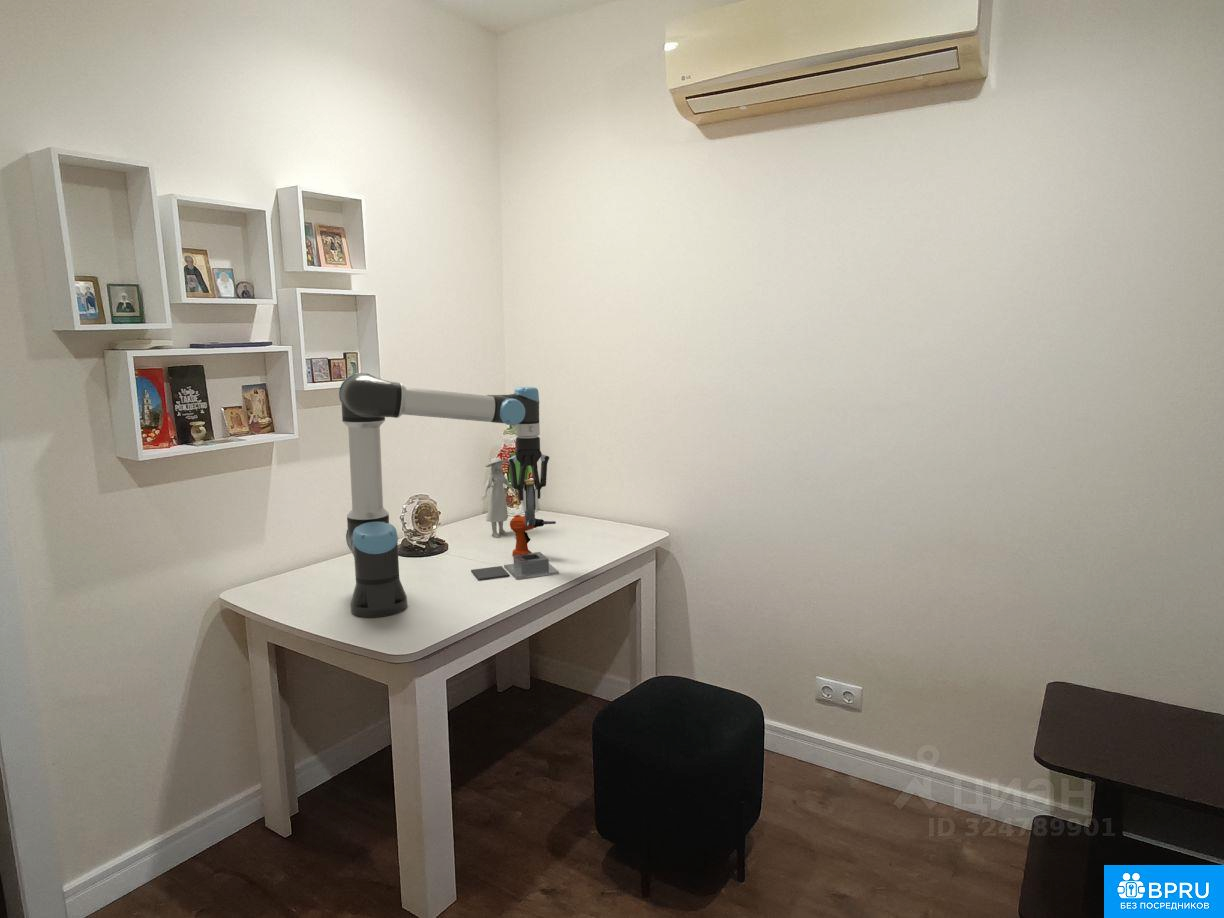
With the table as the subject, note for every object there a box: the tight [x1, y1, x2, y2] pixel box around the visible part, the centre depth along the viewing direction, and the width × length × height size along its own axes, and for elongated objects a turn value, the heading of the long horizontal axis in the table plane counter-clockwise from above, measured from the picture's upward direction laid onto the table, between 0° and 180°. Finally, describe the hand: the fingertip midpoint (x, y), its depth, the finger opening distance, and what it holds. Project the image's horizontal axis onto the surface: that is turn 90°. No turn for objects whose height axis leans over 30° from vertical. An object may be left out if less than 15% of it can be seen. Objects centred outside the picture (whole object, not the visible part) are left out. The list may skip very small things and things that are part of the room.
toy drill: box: [509, 514, 557, 557], centre depth 258 cm, size 5×19×15 cm, turn 63°
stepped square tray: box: [503, 551, 560, 580], centre depth 246 cm, size 14×14×4 cm
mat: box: [470, 565, 511, 581], centre depth 243 cm, size 10×10×1 cm
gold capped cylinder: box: [523, 478, 536, 526], centre depth 242 cm, size 4×4×14 cm
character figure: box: [481, 457, 516, 538], centre depth 287 cm, size 17×8×30 cm, turn 142°
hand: (529, 509), depth 243 cm, fingers closed on gold capped cylinder, 3 cm apart
